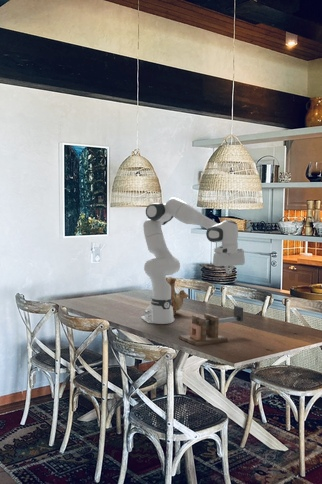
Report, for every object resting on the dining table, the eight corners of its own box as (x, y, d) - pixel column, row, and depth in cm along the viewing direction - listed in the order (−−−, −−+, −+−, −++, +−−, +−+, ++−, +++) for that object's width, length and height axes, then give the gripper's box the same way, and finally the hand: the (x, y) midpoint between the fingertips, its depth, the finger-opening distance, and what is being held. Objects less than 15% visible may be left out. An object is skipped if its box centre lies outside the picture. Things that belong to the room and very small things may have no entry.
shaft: (199, 323, 278) (199, 309, 278) (235, 319, 291) (236, 305, 290) (206, 326, 273) (206, 312, 272) (242, 321, 286) (243, 307, 285)
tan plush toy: (189, 314, 337) (190, 276, 335) (168, 318, 325) (168, 278, 323) (170, 310, 351) (171, 273, 349) (149, 313, 338) (149, 275, 336)
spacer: (189, 336, 276) (190, 323, 276) (193, 336, 277) (193, 323, 277) (197, 339, 270) (197, 326, 270) (200, 339, 271) (200, 326, 271)
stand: (179, 338, 278) (179, 315, 277) (209, 334, 288) (210, 311, 287) (196, 345, 264) (197, 321, 263) (227, 340, 275) (228, 317, 274)
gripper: (240, 248, 302) (239, 271, 303) (211, 249, 291) (211, 273, 292) (247, 249, 296) (246, 273, 297) (218, 250, 286) (217, 275, 287)
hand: (228, 273), depth 295 cm, fingers closed
